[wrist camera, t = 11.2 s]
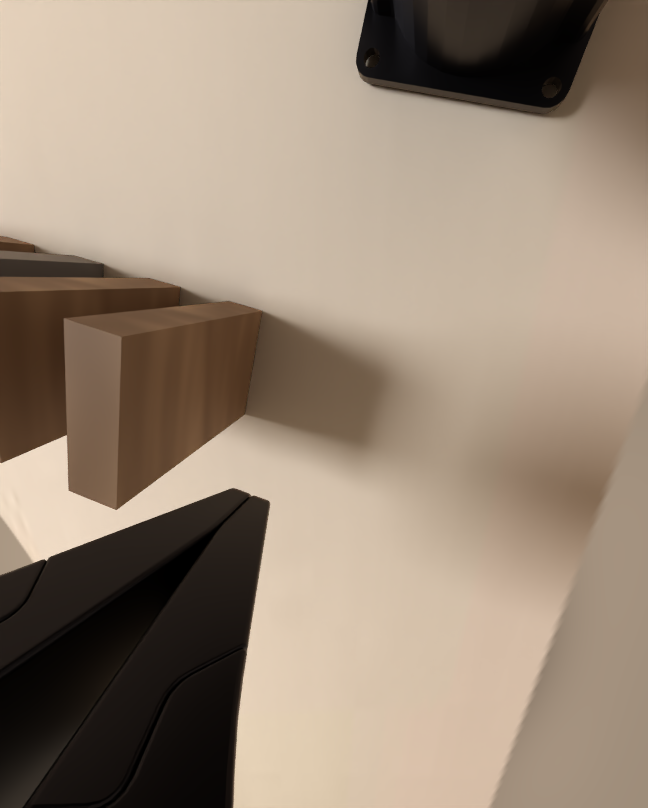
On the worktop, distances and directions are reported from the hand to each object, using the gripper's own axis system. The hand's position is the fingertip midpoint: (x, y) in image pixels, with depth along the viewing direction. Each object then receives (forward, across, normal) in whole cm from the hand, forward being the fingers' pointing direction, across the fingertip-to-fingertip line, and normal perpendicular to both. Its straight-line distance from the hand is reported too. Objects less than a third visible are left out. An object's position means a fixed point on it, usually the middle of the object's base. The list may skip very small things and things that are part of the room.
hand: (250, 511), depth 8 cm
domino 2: (+9, +5, 0) cm, 10 cm away
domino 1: (+9, +9, 0) cm, 13 cm away
